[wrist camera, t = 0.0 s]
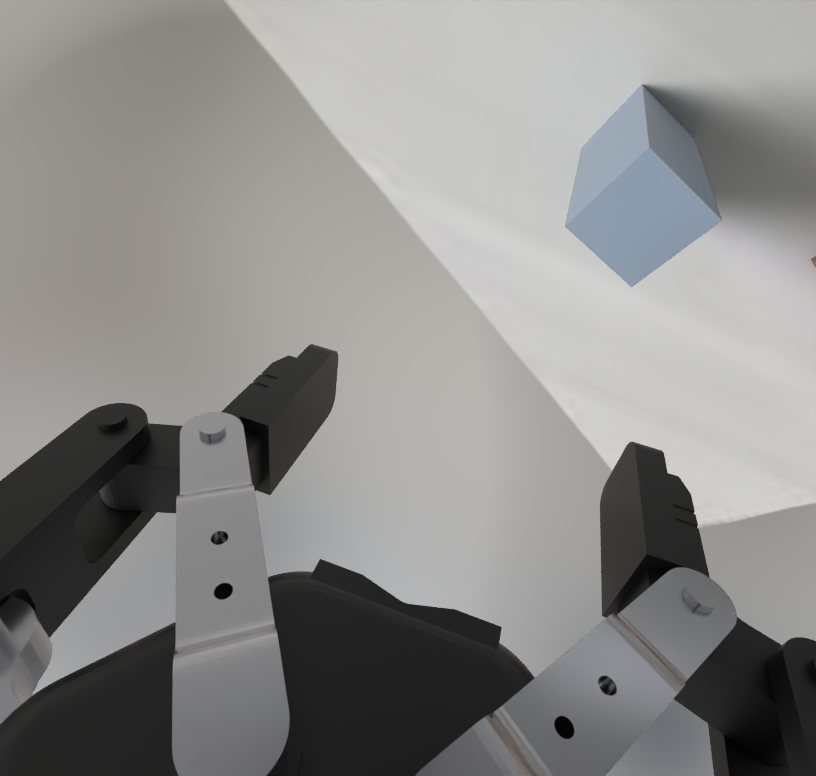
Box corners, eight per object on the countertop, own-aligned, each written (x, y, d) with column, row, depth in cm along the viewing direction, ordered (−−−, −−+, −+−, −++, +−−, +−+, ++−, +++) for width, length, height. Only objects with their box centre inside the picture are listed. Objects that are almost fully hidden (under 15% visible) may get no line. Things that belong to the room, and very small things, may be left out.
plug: (642, 84, 26) (648, 147, 18) (694, 137, 26) (721, 220, 19) (581, 147, 28) (565, 226, 21) (630, 194, 29) (631, 287, 21)
